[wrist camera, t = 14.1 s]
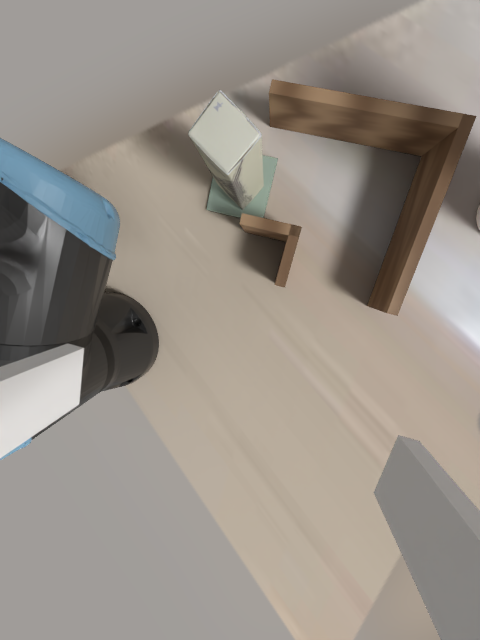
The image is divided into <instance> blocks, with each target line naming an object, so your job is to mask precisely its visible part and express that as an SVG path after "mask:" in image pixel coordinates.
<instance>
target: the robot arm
mask: <svg viewBox="0 0 480 640" xmlns="http://www.w3.org/2000/svg"><path fill="white" fill-rule="evenodd" d="M119 228H120V218H119V215H118V212H117V210H116V209H115V207H114V206H113V205H112V204H111V203H110V202H109V201H108V200H107V199H105V198H104V197H102V196H101V195H99V194H98V193H96V192H94V191H93V190H91V189H89V188H88V187H86V186H84V185H83V184H81V183H79V182H78V181H76V180H74V179H73V178H71V177H69V176H67V175H66V174H64V173H62V172H60V171H59V170H57V169H55V168H54V167H52V166H50V165H48V164H46V163H45V162H43V161H41V160H39V159H38V158H36V157H34V156H32V155H31V154H29V153H27V152H25V151H23V150H21V149H20V148H18V147H16V146H14V145H12V144H11V143H9V142H7V141H5V140H3V139H1V138H0V460H2V459H3V458H5V457H7V456H8V455H10V454H12V453H13V452H15V451H17V450H19V449H20V448H23V447H25V446H27V445H28V444H29V443H31V440H32V439H34V438H35V437H37V436H38V435H39V434H41V433H42V432H44V431H45V430H47V429H48V428H49V427H51V426H52V425H54V424H55V423H57V422H58V421H59V420H61V419H62V418H64V417H65V416H67V415H68V414H70V413H71V412H72V411H73V410H75V409H76V408H78V407H80V406H81V405H82V404H84V403H85V402H87V401H88V400H89V399H91V398H92V397H94V396H95V395H96V394H98V393H99V392H101V391H105V390H109V389H113V388H117V387H122V386H125V385H128V384H131V383H133V382H134V381H136V380H138V379H139V378H140V377H142V376H143V375H144V374H145V373H146V372H148V371H149V369H150V368H151V367H152V365H153V364H154V362H155V360H156V357H157V354H158V348H159V339H158V333H157V329H156V326H155V324H154V322H153V320H152V318H151V316H150V315H149V313H148V312H147V311H146V310H145V309H144V308H143V307H142V306H141V305H140V304H139V303H138V302H136V301H135V300H133V299H132V298H130V297H128V296H125V295H122V294H119V293H104V291H105V287H106V284H107V280H108V276H109V272H110V268H111V265H112V261H113V260H115V258H116V255H115V253H114V252H115V248H116V243H117V238H118V233H119ZM374 494H375V496H376V499H377V501H378V503H379V505H380V507H381V510H382V512H383V514H384V516H385V518H386V521H387V523H388V525H389V527H390V529H391V532H392V534H393V536H394V538H395V540H396V543H397V545H398V547H399V549H400V551H401V553H402V556H403V558H404V560H405V562H406V564H407V567H408V569H409V571H410V573H411V575H412V578H413V580H414V582H415V584H416V586H417V589H418V591H419V593H420V595H421V597H422V599H423V602H424V604H425V606H426V608H427V610H428V613H429V615H430V617H431V619H432V621H433V624H434V625H435V628H436V630H437V632H438V635H439V637H440V639H441V640H480V511H479V509H478V508H477V507H476V506H475V505H474V504H473V503H472V501H471V500H470V499H469V498H468V497H467V496H466V494H465V493H464V492H463V491H462V490H461V489H460V488H459V486H458V485H457V484H456V483H455V482H454V481H453V479H452V478H451V477H450V476H449V475H448V474H447V473H446V471H445V470H444V469H443V468H442V467H441V466H440V464H439V463H438V462H437V461H436V460H435V459H434V457H433V456H432V455H431V454H430V453H429V452H428V451H427V449H426V448H425V447H424V446H423V445H422V444H421V442H420V441H418V440H414V439H411V438H407V437H403V436H400V435H398V437H397V440H396V442H395V444H394V447H393V449H392V451H391V454H390V456H389V458H388V461H387V463H386V465H385V468H384V470H383V472H382V475H381V477H380V479H379V482H378V484H377V486H376V489H375V491H374Z"/></svg>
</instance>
